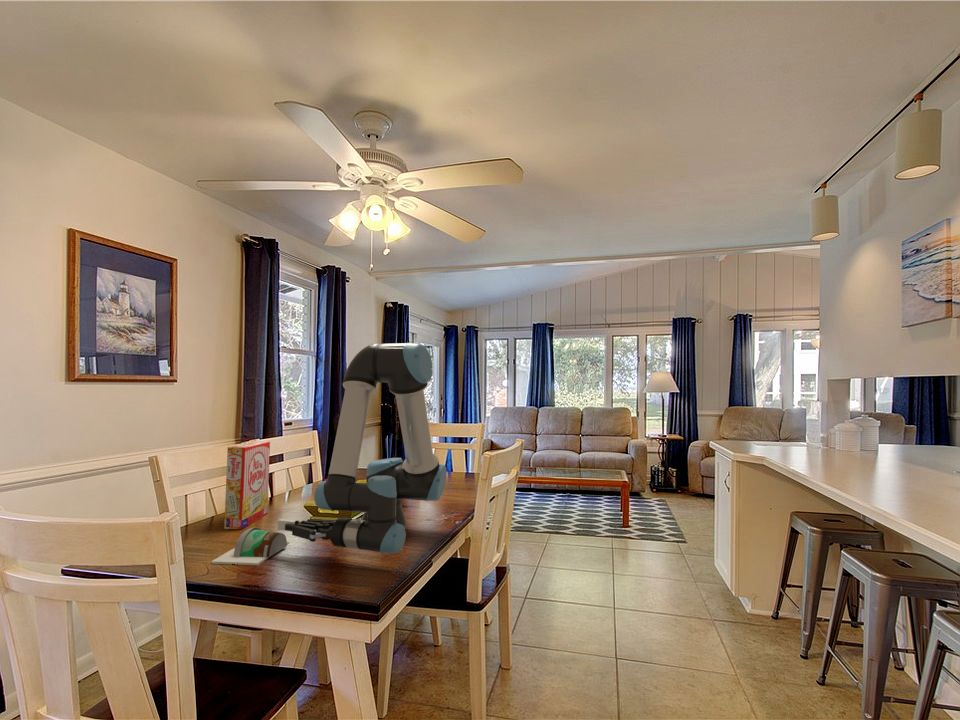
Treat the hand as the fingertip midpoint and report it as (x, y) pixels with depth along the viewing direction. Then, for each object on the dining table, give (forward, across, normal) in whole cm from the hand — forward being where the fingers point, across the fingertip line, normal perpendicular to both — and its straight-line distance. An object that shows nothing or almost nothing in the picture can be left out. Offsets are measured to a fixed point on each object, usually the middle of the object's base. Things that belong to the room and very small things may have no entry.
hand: (279, 524), depth 143 cm
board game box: (+33, -22, +8) cm, 41 cm away
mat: (+7, +3, +8) cm, 11 cm away
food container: (0, 0, +4) cm, 5 cm away
